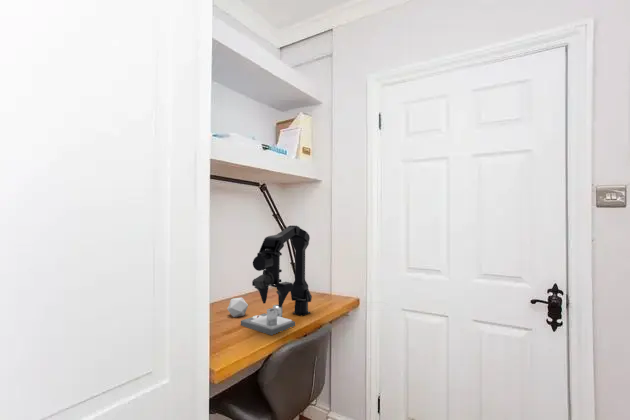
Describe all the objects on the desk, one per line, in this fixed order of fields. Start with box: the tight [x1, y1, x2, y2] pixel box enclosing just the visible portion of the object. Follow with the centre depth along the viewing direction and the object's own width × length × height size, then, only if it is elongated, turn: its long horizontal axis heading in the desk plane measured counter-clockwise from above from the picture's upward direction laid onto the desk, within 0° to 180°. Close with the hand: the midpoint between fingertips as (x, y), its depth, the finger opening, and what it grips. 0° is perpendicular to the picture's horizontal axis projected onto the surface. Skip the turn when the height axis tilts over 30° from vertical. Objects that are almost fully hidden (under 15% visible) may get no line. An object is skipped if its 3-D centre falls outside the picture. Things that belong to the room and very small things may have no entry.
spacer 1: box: [266, 307, 278, 326], centre depth 135 cm, size 4×4×6 cm
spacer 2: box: [272, 304, 283, 317], centre depth 152 cm, size 4×4×6 cm
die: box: [226, 297, 249, 318], centre depth 156 cm, size 8×9×10 cm
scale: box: [240, 313, 296, 336], centre depth 142 cm, size 14×19×3 cm
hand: (272, 305), depth 135 cm, fingers open, 9 cm apart
